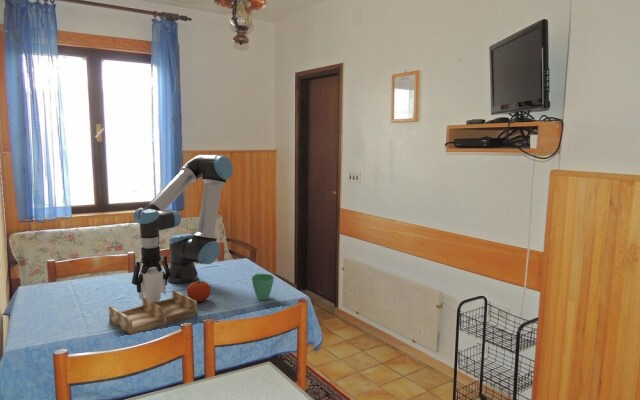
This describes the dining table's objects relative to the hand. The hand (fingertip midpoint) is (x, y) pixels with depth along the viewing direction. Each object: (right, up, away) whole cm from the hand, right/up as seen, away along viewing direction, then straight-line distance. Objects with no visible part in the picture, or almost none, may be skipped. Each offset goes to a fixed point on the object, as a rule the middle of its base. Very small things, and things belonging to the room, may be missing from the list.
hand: (152, 295), depth 199 cm
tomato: (+19, -3, +3) cm, 20 cm away
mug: (+46, -3, +11) cm, 47 cm away
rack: (+6, -6, -16) cm, 18 cm away
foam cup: (0, -2, 0) cm, 2 cm away
